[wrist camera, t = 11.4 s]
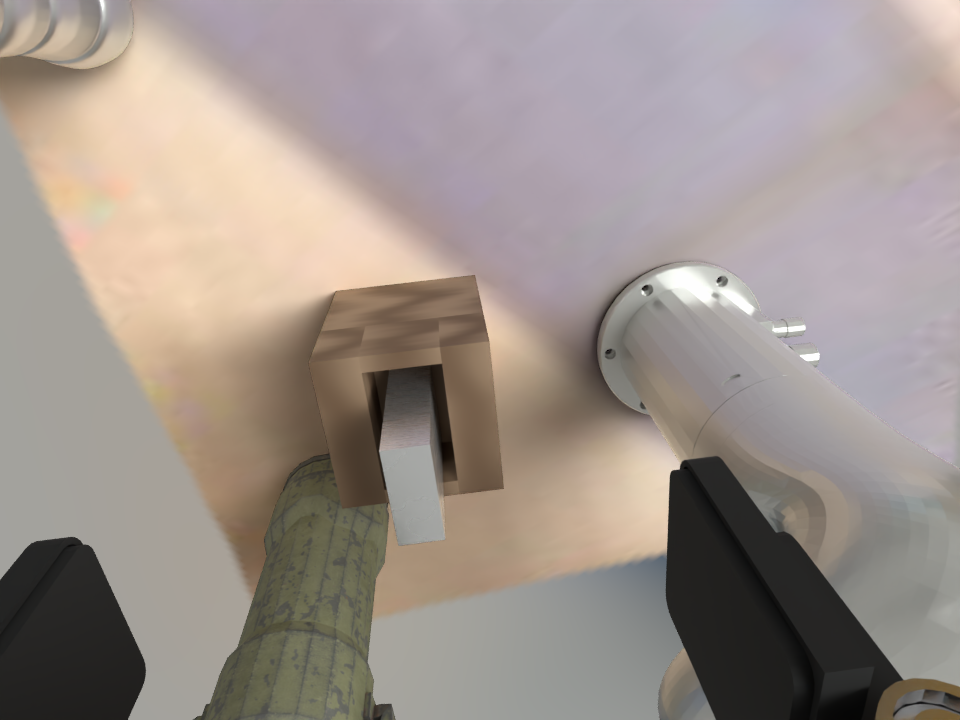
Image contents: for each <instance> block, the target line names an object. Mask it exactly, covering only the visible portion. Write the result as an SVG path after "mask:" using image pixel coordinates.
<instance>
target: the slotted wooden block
mask: <svg viewBox="0 0 960 720" xmlns="http://www.w3.org/2000/svg"><path fill="white" fill-rule="evenodd" d="M308 364H309V369H310V373H311V377H312V381H313V386H314V390H315V394H316V398H317V403H318V407H319V411H320V415H321V420H322V424H323V428H324V433H325V437H326V441H327V445H328V450H329V454H330V458H331V462H332V467H333V471H334V475H335V479H336V484H337V488H338V492H339V496H340V501H341V505H342V509H344V508H352V507H360V506H368V505H376V504H384V503H390V501H389V497H388V492H387V487H386V482H385V477H384V472H383V467H382V462H381V457H380V453H379V449H380V441H381V433H382V425H383V417H384V408H385V400H386V392H387V384H388V376H389V370H392V369H401V368H409V367H417V366H426V365H430V366H431V373H432V379H433V386H434V392H435V399H436V405H437V412H438V418H439V425H440V431H441V438H442V461H443V488H444V496H449V495H457V494H465V493H473V492H481V491H489V490H497V489H504V486H503V476H502V466H501V455H500V445H499V435H498V425H497V415H496V405H495V395H494V384H493V374H492V364H491V354H490V344H489V338H488V333H487V329H486V324H485V319H484V315H483V310H482V306H481V301H480V296H479V292H478V287H477V283H476V278H475V275H472V276H463V277H454V278H446V279H437V280H429V281H420V282H411V283H403V284H394V285H385V286H377V287H368V288H359V289H351V290H342V291H336V293H335V296H334V298H333V301H332V303H331V306H330V308H329V311H328V313H327V316H326V319H325V321H324V324H323V326H322V329H321V331H320V334H319V336H318V339H317V342H316V344H315V347H314V349H313V352H312V354H311V357H310V359H309V362H308Z"/></svg>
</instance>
